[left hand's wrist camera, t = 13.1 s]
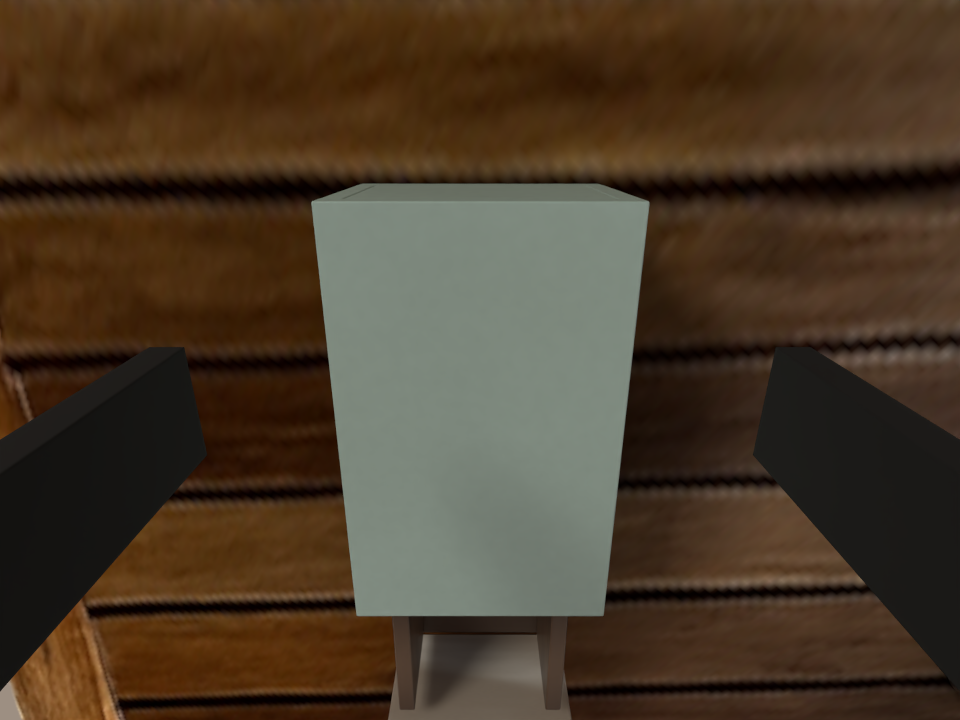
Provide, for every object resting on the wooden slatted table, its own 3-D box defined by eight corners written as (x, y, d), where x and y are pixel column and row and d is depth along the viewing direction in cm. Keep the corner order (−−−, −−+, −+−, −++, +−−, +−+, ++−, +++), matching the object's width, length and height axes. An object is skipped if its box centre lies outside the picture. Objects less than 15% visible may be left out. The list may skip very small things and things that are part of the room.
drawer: (553, 707, 37) (566, 812, 31) (406, 707, 37) (393, 812, 31) (574, 412, 28) (597, 480, 23) (385, 412, 28) (362, 480, 23)
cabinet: (574, 505, 32) (603, 616, 24) (385, 505, 32) (356, 616, 24) (600, 183, 25) (650, 201, 18) (360, 183, 25) (310, 201, 18)
